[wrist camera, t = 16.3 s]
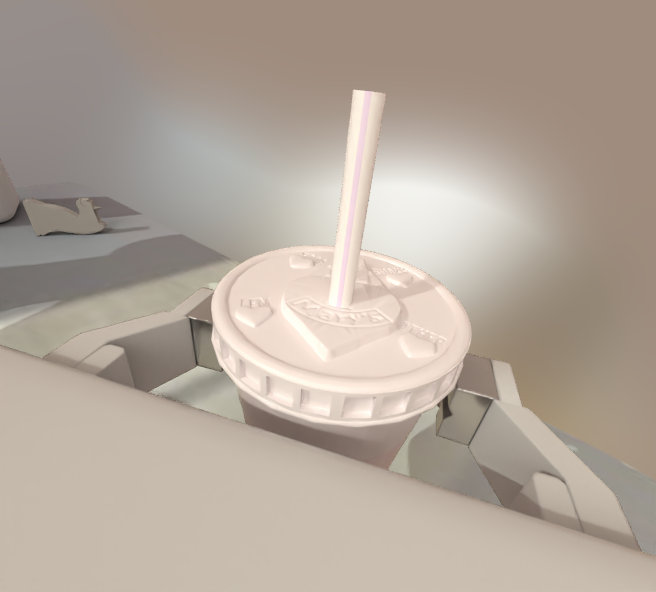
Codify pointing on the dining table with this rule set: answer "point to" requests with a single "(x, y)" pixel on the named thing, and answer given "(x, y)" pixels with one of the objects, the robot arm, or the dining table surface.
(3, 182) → the plastic bottle
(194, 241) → the dining table surface
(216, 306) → the smoothie
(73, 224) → the duck shaped cutout
